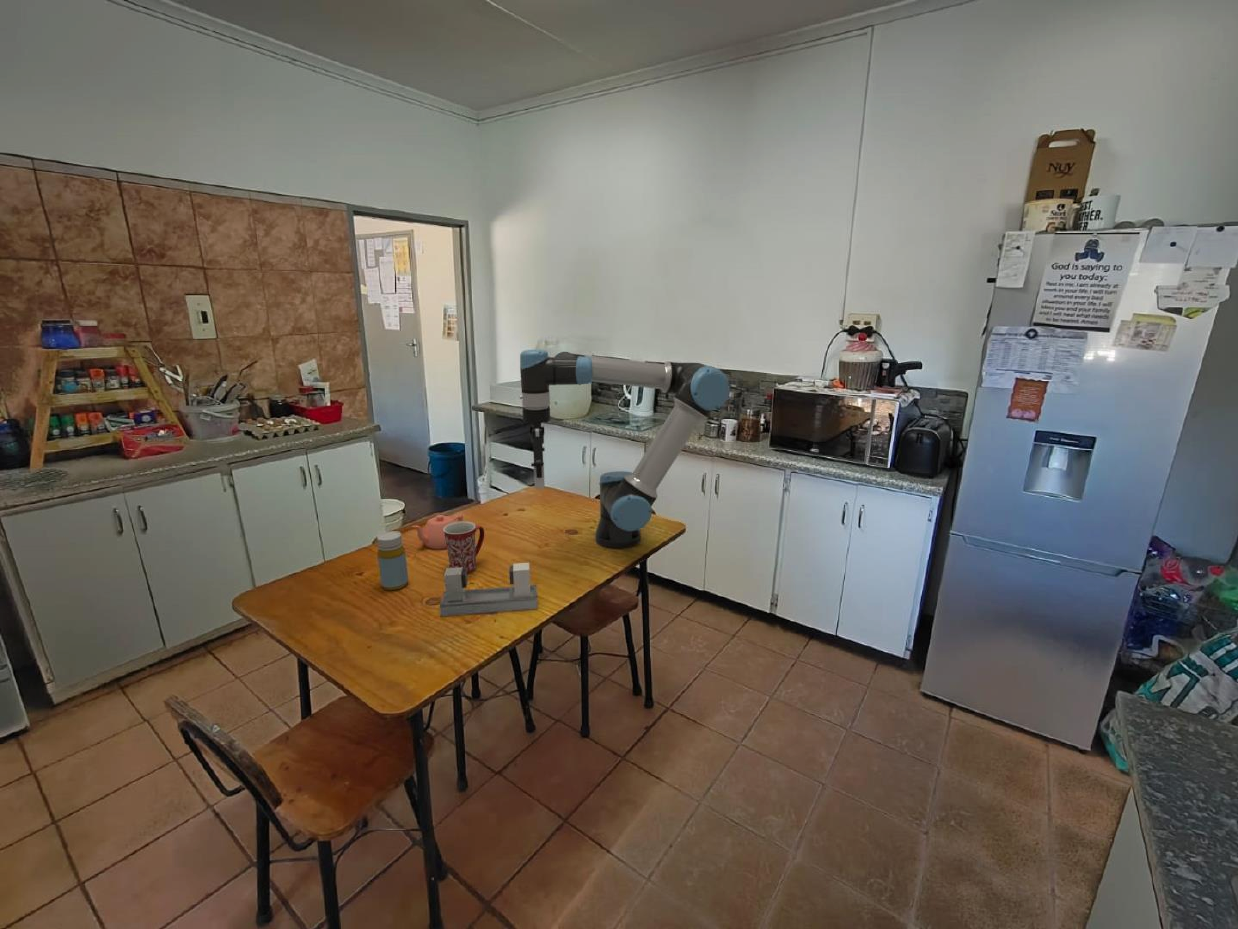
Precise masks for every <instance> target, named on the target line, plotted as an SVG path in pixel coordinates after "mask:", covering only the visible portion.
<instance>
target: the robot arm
mask: <svg viewBox="0 0 1238 929" xmlns="http://www.w3.org/2000/svg"><path fill="white" fill-rule="evenodd" d="M519 355H520V356H519V362H520V363H519V369H520V370H519V372H520V387H521V395H519V399H520V400H521V405H522V407H523V408H522V421H523V422H525V423H526V424H531V425H532V426H529V435H530V439H531V440H530V442H531V444H532V447H533V450H532V451H533V462H532V463H531V466H530V467H532V468H533V478H534V480H533V482H534V490H537V489H539V490H540V489H546V488H545V462H544V453H543V452H545V451H546V450H545V447H544V446H543V444H544V443H545V426H542V424H546V423H548V422H549V421H550V420H551V409H550V405H551V400H550V399H551V398H550V397H551V396H550V395H551V394H550V386H562V385H563V386H565V385H566V386H569V385H571V386H572V385H573V386H574V385H578V386H581V385H588V384H591V383H592V382H595V383H605V384H612V385H622V386H631V387H639V388H648V389H656V390H657V389H658V390H661V392H662V393H664V394H671V395H674V396H673V401H674V406H673V408H672V410H671V411H670V413H669V415H668V416H667V418H666V419H665V421H664V423H663V424H662V426H661V427H660V429H659V431H658V432H657V434H656V436H655V437H654V439H653V440H652V441H651V443H650V445H649V446H648V448H647V450H646V451H645V453H644V454H643V456H642V457H641V459H640V460H639V463H637V466H636V467H635V468H634V470H633V472H631V471H624V470H623V471H621V470H620V471H609V472H605V473H603V474H601V475H600V477H599V483H598V484H599V505H600V506H599V507H600V508H599V509H600V511H599V514H600V516H599V517H600V518H599V521H598V523H597V526H596V529H595V532H594V534H595V535H594V536H595V538H594V539H595V540H594V541H595V542H596V544H598V545H599V546H601V547H604V548H608V549H615V550H616V549H617V550H618V549H620V550H621V549H623V550H624V549H628V548H633V547H635V546H637V545H638V544H639V543H641V541H642V533H641V529H644V528H645V526H646V525H648V523H649V522H650V520H651V517H652V512H653V510H652V507H653V505H654V503H655V501H656V500H657V499H658V493H657V489H658V488H659V486H660V485H661V483H662V481H663V479H664V478H665V476H666V475H667V473H668V471H670V469H671V467H672V465H673V464H674V463H675V461H676V459H677V457H678V456H679V455H680V453H681V451H682V450H683V448H684V447H685V445H686V443H687V442H688V441H689V439H690V438H691V435H692V434H693V432H694V431H695V430H696V427H697V426H698V425H699V423H700V422H701V421H702V422H703V421H706V420H708V419H709V418H710V416H711V414H712V413H713V411H714V410H718V409H719V408H721V407H723V405H725V403H726V402H727V400H728V399H729V395H730V392H731V391H730V390H731V387H730V382H729V379H728V377H727V375H726V374H725V373H724V372H723V371H721V370H720V369H718V368H716V367H715V366H711V365H706V364H703V363H700V362H674V361H666V362H665V363H663V364H662V363H654V362H646V361H637V360H628V359H622V358H613V357H605V356H596V355H588V354H580V353H579V354H578V353H571V352H569V351H560V352H558V353H556V354H555V355H554V357H552V356H549V353H548V351H547V350H546V349H545V350H544V349H527V350H523V351H521V352H520V354H519Z"/></svg>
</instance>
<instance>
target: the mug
mask: <svg viewBox="0 0 1238 929" xmlns="http://www.w3.org/2000/svg"><path fill="white" fill-rule="evenodd" d="M443 531H444V534H445V540H446V545H447V548H446V550H447V556H448V562H449V568H457V567H463V569H467V575H469V574H471V573H473V572H474V571H475V570H476V569H477V556H478V555H479V553H480V550H481V547H482V546H483V543H484V539H485V529H484V527H483V526H480V525H477V524H475V523H474V522H471V521H462V522H458V521H455V523H451V524H449V525H447V526H445V527H444V529H443ZM477 531H479V536H478V540H477V544H476V532H477Z"/></svg>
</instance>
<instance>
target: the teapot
mask: <svg viewBox="0 0 1238 929" xmlns="http://www.w3.org/2000/svg"><path fill="white" fill-rule="evenodd" d="M456 520H458V521H457V522H463V520H464V515H463V514H457V515H455V516H453V517H451V516H447V515H444V514H438V515H436V516H435V517H432V518H429V519H428V520H427V522H426V523H425V526H424V528H422V527H421V526H420V525H412V526H411V527H412V528H413V529H414V528H415V529H416V531H417V536H418V539H419V540H420V542H422V543H423V544H424V545H425V546H427V548H430V549H432V550H445V549H447V545H446V540H445V534H444V531H443V529H444V527H445V526H447V525H449V524H451V523H455V522H456Z"/></svg>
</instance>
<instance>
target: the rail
mask: <svg viewBox="0 0 1238 929" xmlns="http://www.w3.org/2000/svg"><path fill="white" fill-rule="evenodd" d="M443 575H444V576H443V577H444V579H443V580H444V587H445V591H443V595H442V596H441V599H440V604H439V612H440V617H449V616H451V617H452V616H463V615H464V616H465V615H474V614H489V613H501V612H502V613H503V612H514V611H525V610H527V611H528V610H536V609H538V591H537V584H530V590H531V597H520V598H515V593H514V586H504V587H489V588H478V589H477V588H475V589H465V588H467V586H468V582H469V581H468V574H467V569H463V567H457V568H450V567H446V569H445V572H444V574H443Z"/></svg>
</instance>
